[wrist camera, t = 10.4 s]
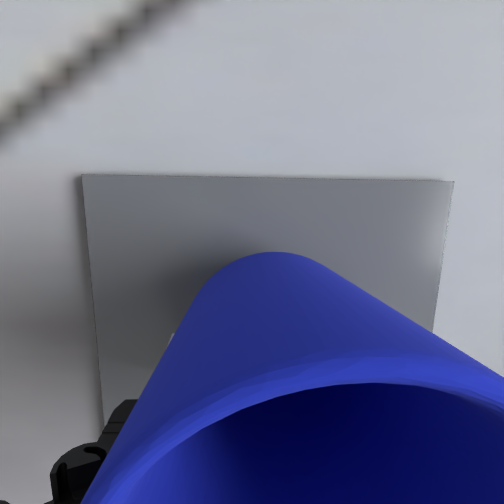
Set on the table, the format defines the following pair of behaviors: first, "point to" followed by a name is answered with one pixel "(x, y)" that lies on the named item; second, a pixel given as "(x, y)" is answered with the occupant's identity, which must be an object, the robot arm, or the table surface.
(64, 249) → the table surface
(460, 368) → the mug
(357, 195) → the coaster
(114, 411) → the robot arm
